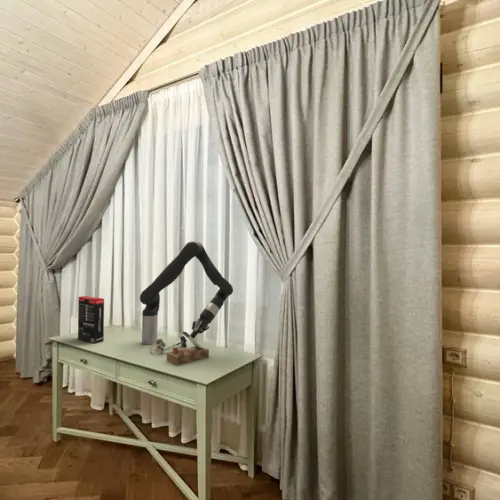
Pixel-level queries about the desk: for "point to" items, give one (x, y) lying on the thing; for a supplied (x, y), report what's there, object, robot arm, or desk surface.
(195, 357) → the lever base
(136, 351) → the desk surface
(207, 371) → the desk surface
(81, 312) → the graphics card box
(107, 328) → the desk surface
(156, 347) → the artificial flower
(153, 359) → the desk surface
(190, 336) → the lever
